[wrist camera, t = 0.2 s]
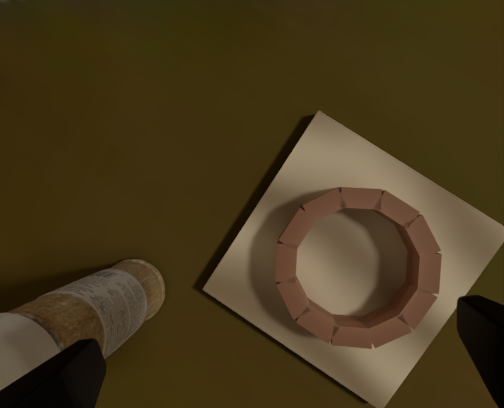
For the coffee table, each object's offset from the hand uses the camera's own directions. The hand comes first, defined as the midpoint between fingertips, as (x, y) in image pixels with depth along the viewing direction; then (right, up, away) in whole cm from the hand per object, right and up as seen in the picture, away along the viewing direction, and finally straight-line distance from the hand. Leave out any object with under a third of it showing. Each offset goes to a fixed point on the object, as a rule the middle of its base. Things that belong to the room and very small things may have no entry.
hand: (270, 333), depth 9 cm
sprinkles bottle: (-9, -3, +16) cm, 19 cm away
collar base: (+6, -1, +15) cm, 16 cm away
